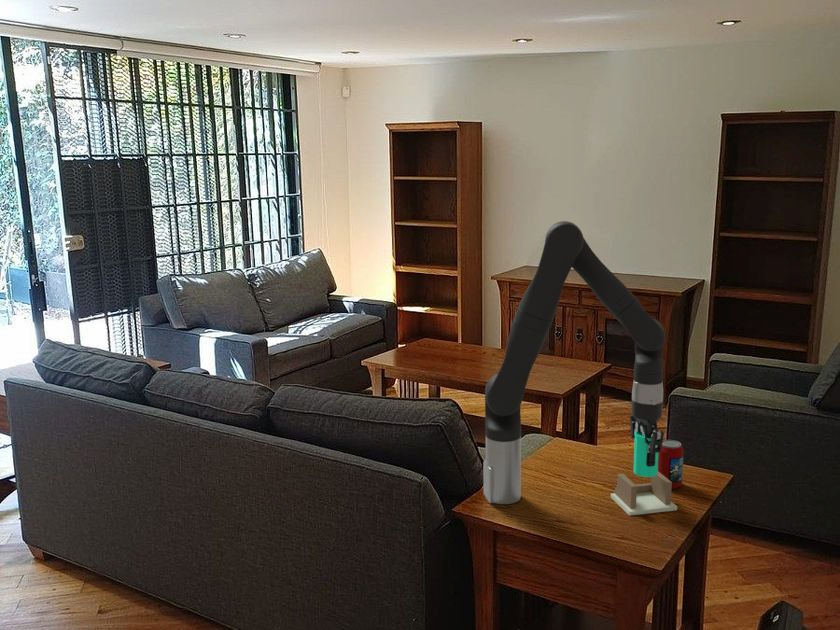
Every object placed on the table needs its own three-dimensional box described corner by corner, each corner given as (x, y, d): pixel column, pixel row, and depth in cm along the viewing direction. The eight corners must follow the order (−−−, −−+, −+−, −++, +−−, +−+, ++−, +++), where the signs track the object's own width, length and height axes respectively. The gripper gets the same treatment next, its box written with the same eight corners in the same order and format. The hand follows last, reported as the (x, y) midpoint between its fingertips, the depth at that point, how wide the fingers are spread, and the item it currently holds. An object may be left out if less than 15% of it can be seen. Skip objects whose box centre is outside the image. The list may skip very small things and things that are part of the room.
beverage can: (678, 492, 213) (680, 449, 210) (652, 486, 216) (654, 445, 214) (684, 482, 218) (687, 441, 216) (659, 477, 222) (661, 437, 219)
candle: (655, 467, 207) (656, 424, 204) (659, 477, 201) (661, 432, 199) (631, 467, 207) (632, 423, 205) (635, 477, 202) (636, 432, 199)
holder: (629, 515, 200) (630, 489, 198) (610, 497, 210) (611, 472, 209) (677, 510, 202) (678, 484, 201) (656, 492, 213) (657, 467, 211)
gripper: (620, 391, 207) (618, 452, 210) (646, 408, 193) (644, 474, 196) (647, 388, 208) (645, 450, 211) (675, 405, 194) (672, 471, 198)
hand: (644, 461), depth 204 cm, fingers closed on candle, 5 cm apart
